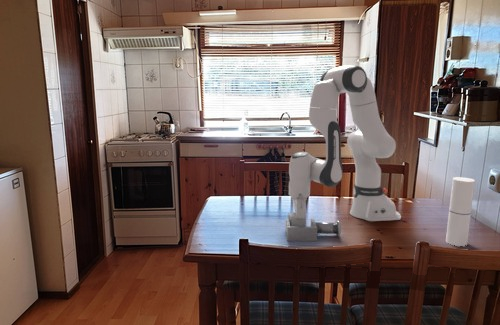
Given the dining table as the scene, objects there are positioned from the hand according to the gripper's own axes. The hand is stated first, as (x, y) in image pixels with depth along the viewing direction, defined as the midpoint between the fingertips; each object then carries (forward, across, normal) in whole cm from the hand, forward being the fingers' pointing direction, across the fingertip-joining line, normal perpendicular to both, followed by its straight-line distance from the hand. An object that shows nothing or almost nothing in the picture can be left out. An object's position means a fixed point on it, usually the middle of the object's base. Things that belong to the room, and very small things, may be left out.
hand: (298, 222), depth 156 cm
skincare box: (+2, -6, +1) cm, 6 cm away
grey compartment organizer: (+2, -10, -5) cm, 11 cm away
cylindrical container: (+3, -14, -59) cm, 61 cm away
